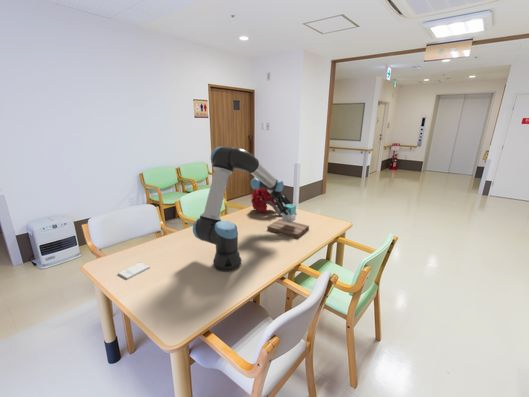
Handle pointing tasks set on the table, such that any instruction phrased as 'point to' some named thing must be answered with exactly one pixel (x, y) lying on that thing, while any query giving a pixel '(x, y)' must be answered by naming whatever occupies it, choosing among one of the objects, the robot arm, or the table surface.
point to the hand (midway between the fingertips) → (293, 216)
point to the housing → (292, 212)
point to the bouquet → (263, 201)
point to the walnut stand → (288, 228)
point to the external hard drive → (133, 270)
